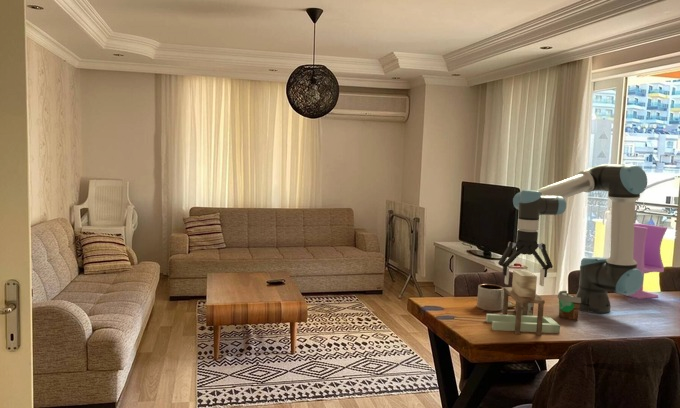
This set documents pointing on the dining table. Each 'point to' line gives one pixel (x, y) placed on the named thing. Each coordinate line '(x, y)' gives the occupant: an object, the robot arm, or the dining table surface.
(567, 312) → the food container
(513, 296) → the brown legged piece
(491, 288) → the planter
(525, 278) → the beech block
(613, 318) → the dining table surface
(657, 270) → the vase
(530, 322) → the pale green tray
